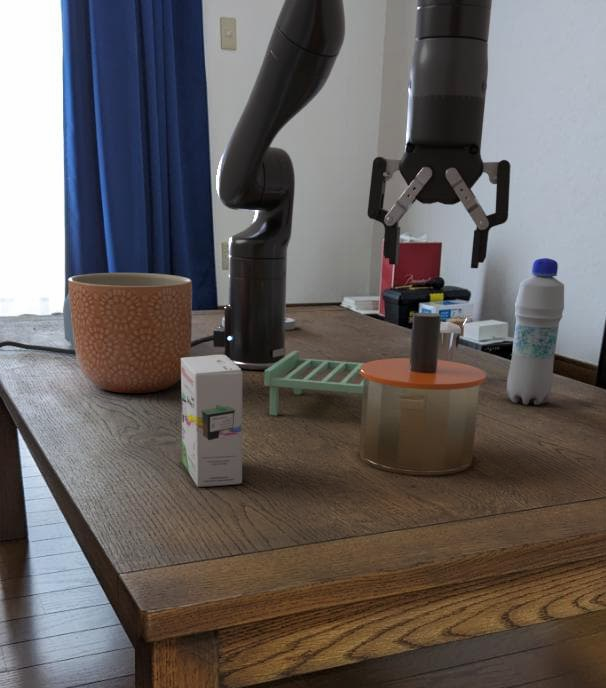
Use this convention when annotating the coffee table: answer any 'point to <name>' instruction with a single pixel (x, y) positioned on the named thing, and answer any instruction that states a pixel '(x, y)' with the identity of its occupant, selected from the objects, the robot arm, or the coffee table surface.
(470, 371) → the lid
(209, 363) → the ink box
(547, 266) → the bottle
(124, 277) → the planter
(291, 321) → the game controller
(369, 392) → the pot
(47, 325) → the coffee table surface
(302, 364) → the rack
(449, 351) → the milkshake
